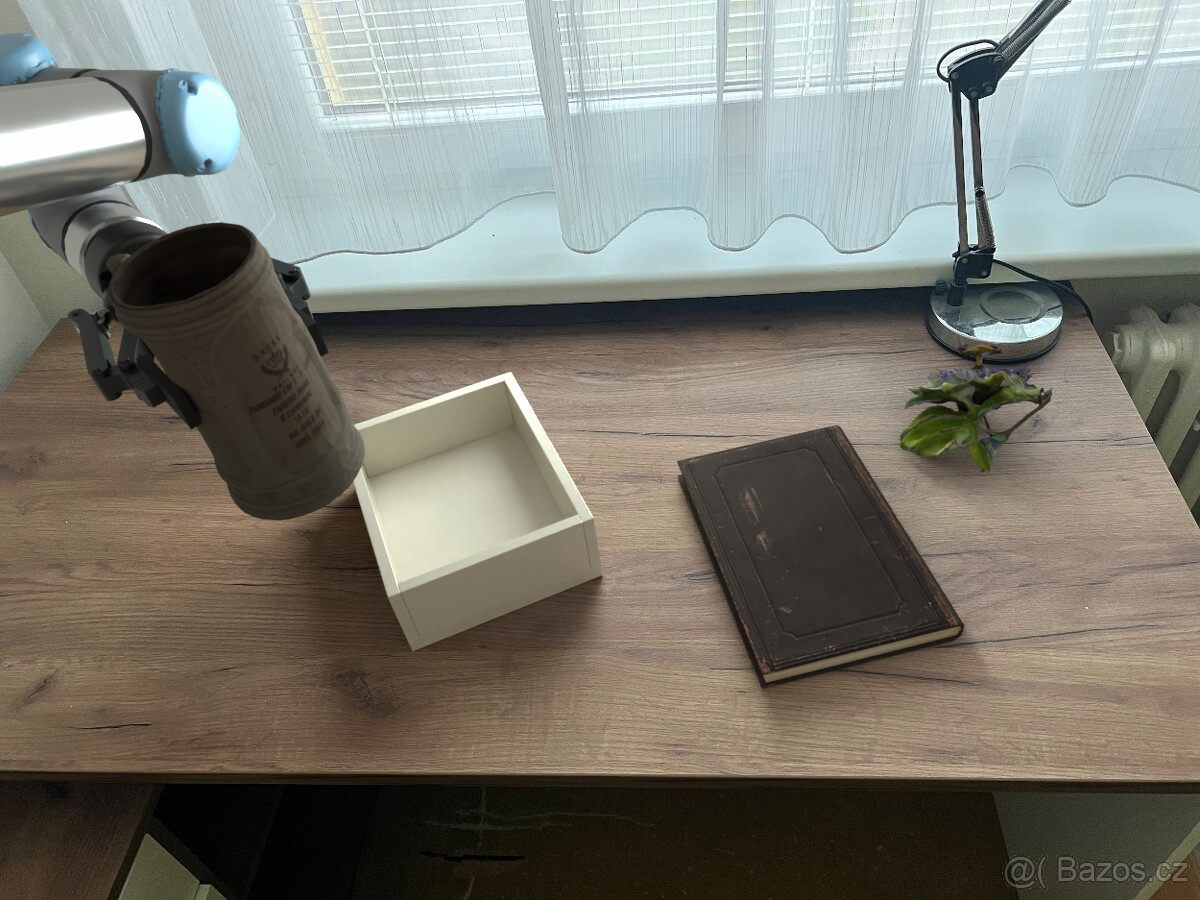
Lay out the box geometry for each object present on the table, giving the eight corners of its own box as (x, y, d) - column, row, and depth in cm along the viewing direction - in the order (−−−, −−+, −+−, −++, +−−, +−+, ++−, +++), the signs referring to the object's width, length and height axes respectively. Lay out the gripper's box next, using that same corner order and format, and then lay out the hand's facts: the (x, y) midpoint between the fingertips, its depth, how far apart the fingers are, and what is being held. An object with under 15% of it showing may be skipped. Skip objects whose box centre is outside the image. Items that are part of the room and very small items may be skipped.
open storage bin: (412, 652, 71) (387, 597, 66) (361, 485, 86) (337, 430, 80) (603, 575, 75) (594, 517, 70) (523, 427, 89) (510, 371, 84)
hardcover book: (761, 689, 66) (762, 672, 64) (678, 477, 82) (677, 460, 80) (961, 639, 67) (967, 622, 65) (839, 440, 83) (841, 423, 82)
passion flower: (952, 454, 88) (1036, 358, 83) (1001, 520, 79) (1098, 417, 73) (864, 412, 85) (945, 309, 79) (905, 476, 75) (999, 365, 70)
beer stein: (399, 434, 70) (291, 215, 56) (325, 537, 64) (182, 318, 50) (253, 411, 76) (122, 207, 62) (172, 503, 69) (5, 299, 55)
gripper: (265, 245, 80) (401, 341, 67) (23, 362, 71) (128, 500, 58) (233, 169, 75) (373, 257, 62) (-33, 284, 65) (68, 417, 53)
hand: (255, 374), depth 60 cm, fingers closed on beer stein, 9 cm apart
